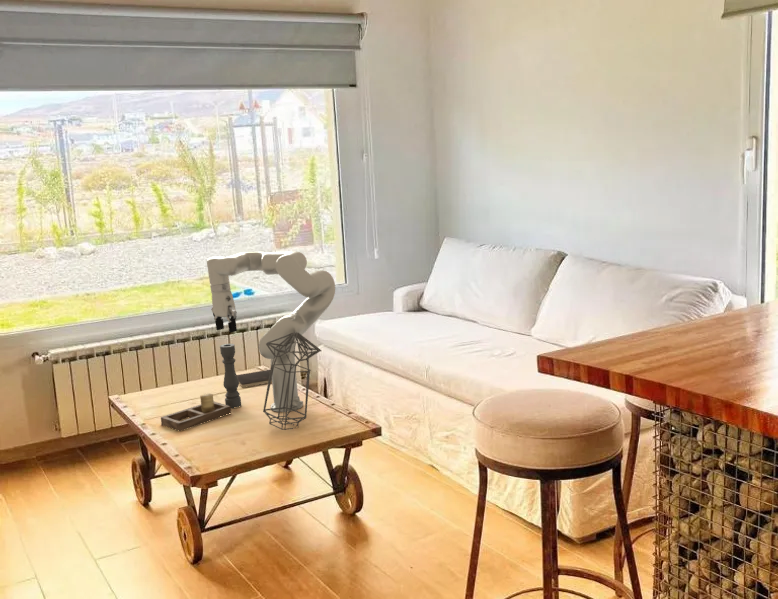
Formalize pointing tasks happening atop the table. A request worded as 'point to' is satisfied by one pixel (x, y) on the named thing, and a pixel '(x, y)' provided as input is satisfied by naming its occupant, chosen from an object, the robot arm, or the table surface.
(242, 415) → the table surface
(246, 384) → the hardcover book
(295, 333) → the geometric lantern
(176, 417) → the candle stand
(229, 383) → the candle holder
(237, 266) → the robot arm
